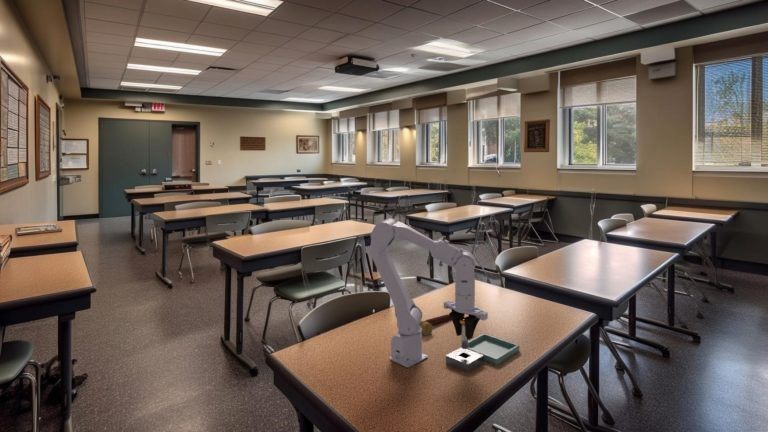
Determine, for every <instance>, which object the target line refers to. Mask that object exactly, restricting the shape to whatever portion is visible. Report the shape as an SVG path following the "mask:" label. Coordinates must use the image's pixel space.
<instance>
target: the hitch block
mask: <svg viewBox="0 0 768 432" xmlns="http://www.w3.org/2000/svg"><path fill="white" fill-rule="evenodd" d="M484 363H485V361H484V355H482V354H479V353H476V352H474V351H471V350H468V349H462V348H460V347H458V349H455V350H454V351H451V352H449V353H448V354H445V364H447V365H449V366H452V367H454V368H456V369H459V370H461V371H463V372H465V373H470V372H472V371H473V370H475V369H476V368H478V367H479V366H482V365H483V364H484Z"/></svg>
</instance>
